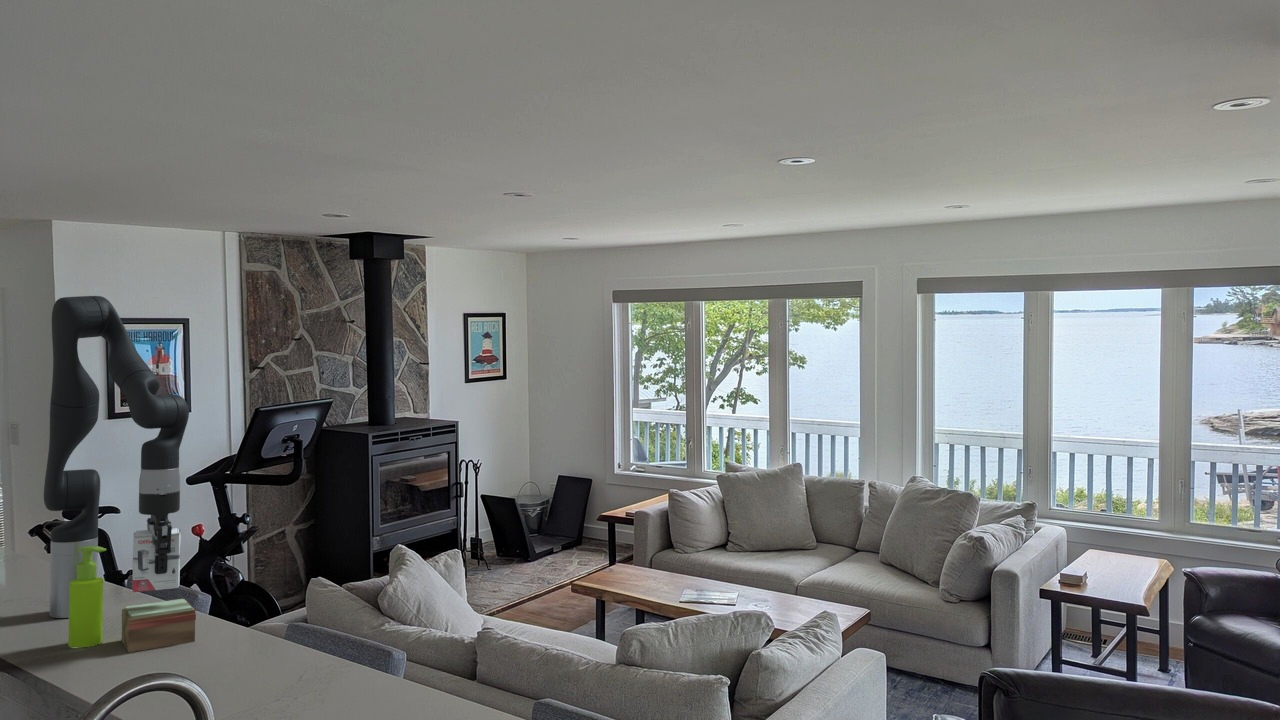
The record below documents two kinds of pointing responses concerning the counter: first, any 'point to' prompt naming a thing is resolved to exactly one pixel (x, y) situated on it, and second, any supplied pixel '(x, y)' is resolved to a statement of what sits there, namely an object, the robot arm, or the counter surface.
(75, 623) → the soap dispenser
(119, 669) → the counter surface
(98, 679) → the counter surface
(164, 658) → the counter surface
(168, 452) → the robot arm
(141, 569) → the ink box
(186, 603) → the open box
